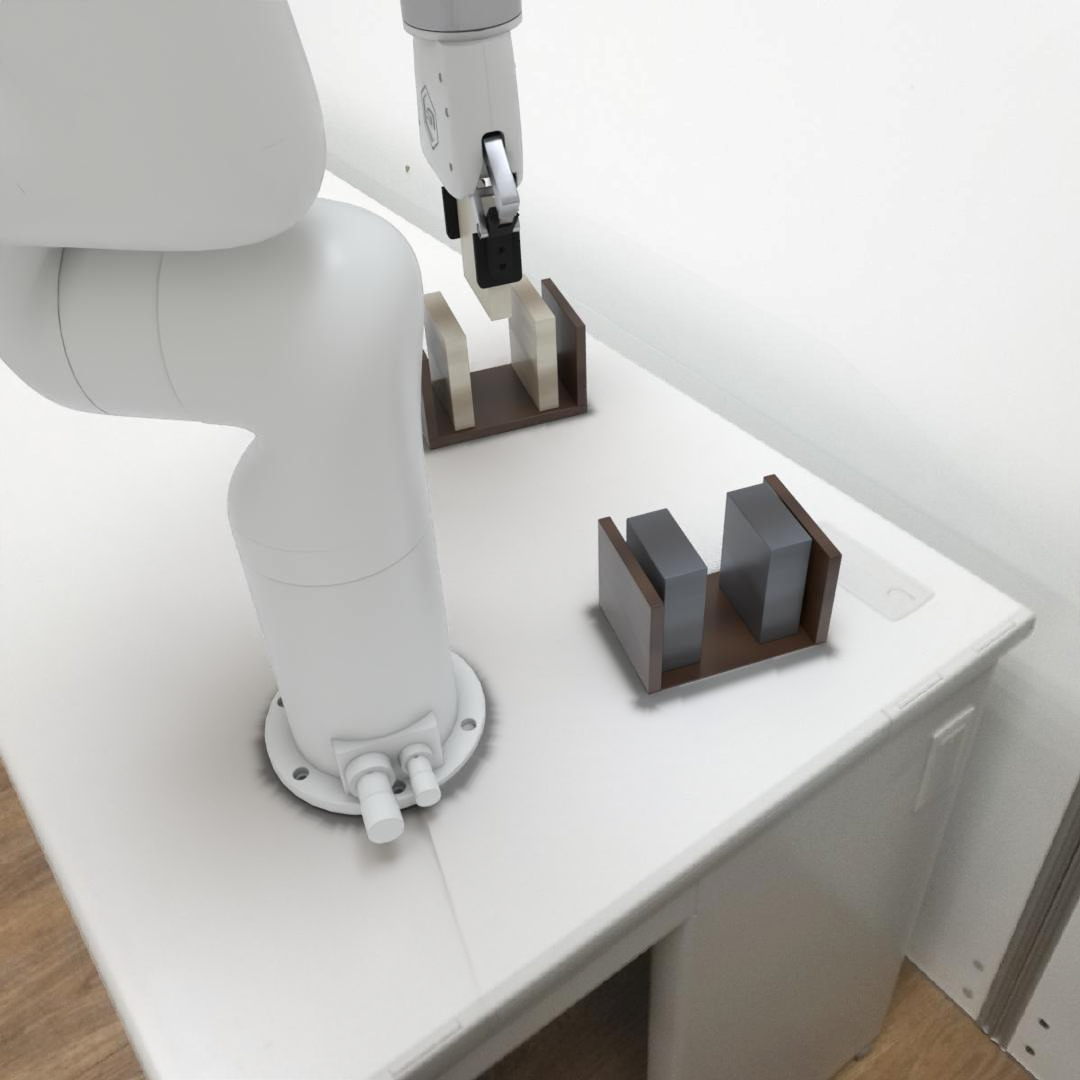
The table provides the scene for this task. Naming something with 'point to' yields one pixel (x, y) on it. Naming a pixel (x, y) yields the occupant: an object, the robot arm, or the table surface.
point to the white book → (492, 298)
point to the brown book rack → (503, 369)
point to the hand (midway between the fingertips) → (483, 256)
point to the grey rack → (717, 588)
